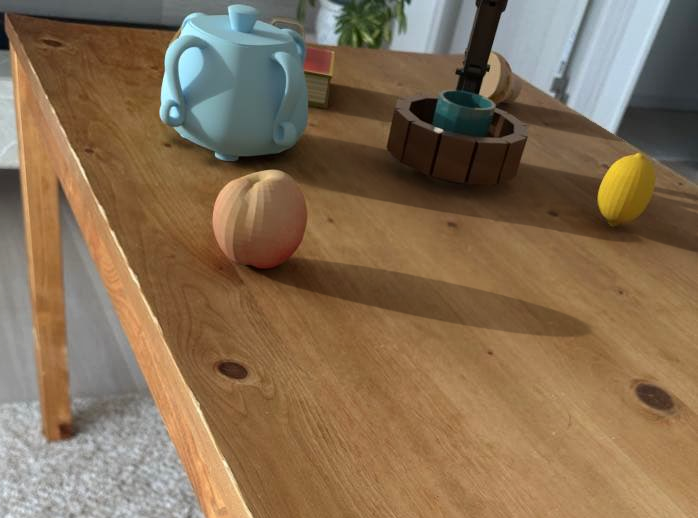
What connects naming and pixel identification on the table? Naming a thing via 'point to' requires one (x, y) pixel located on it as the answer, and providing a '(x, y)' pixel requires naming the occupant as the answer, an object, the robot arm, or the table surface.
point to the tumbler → (463, 113)
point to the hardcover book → (311, 73)
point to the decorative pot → (236, 84)
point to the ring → (455, 144)
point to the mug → (500, 81)
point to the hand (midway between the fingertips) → (456, 131)
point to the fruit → (260, 219)
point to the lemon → (626, 189)
